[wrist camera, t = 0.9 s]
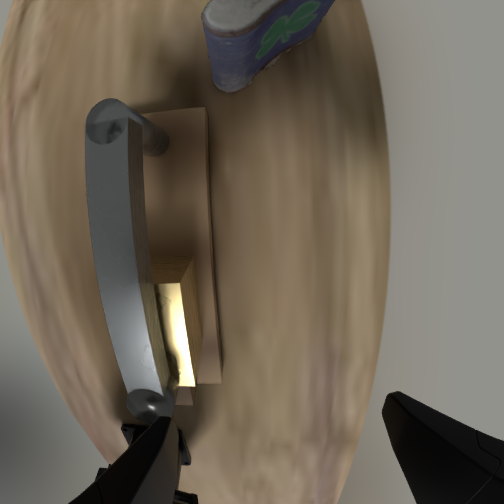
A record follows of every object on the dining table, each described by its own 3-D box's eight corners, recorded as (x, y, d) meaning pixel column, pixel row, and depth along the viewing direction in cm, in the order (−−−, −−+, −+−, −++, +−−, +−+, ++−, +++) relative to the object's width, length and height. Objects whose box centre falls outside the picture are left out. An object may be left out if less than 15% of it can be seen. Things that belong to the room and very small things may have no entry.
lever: (192, 351, 19) (177, 426, 12) (159, 351, 19) (133, 422, 12) (174, 125, 15) (135, 92, 8) (136, 130, 15) (78, 104, 8)
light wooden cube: (202, 339, 19) (195, 386, 14) (147, 339, 19) (127, 382, 14) (194, 255, 18) (180, 282, 13) (133, 257, 17) (101, 284, 13)
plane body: (222, 368, 22) (221, 410, 17) (151, 367, 22) (136, 407, 17) (207, 114, 17) (198, 92, 13) (122, 124, 17) (90, 109, 12)
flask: (230, 101, 17) (227, 19, 7) (200, 75, 17) (171, -18, 6) (322, 32, 16) (381, -52, 6) (294, 8, 16) (333, -83, 5)
